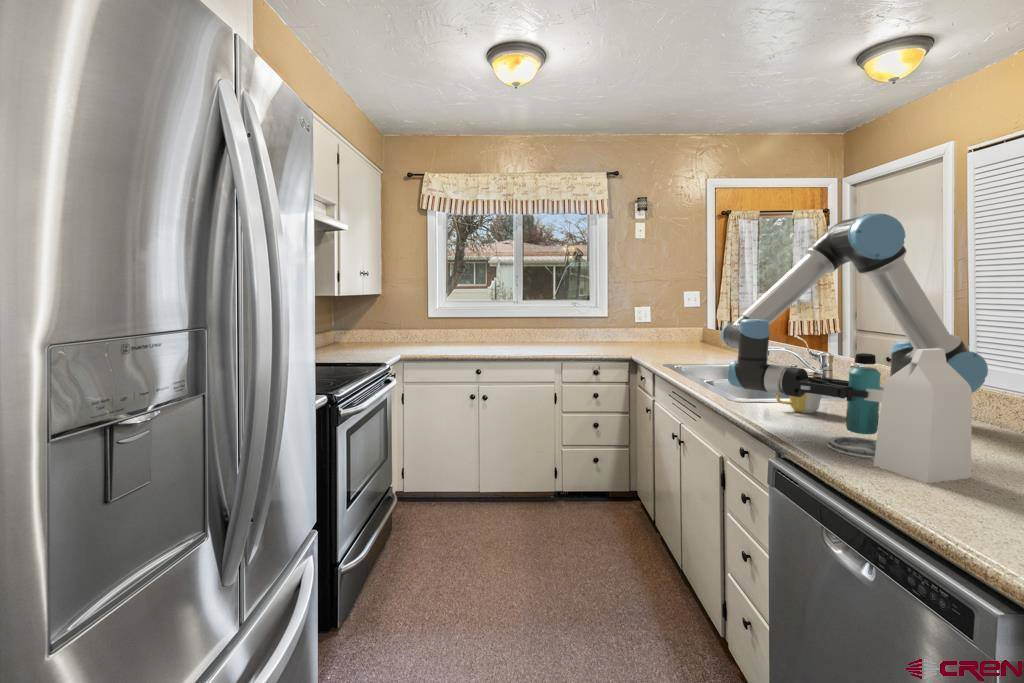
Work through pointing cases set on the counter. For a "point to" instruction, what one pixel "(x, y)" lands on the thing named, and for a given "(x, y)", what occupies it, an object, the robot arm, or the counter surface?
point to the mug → (803, 402)
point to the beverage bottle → (861, 411)
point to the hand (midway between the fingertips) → (890, 395)
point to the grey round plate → (853, 446)
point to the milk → (926, 421)
